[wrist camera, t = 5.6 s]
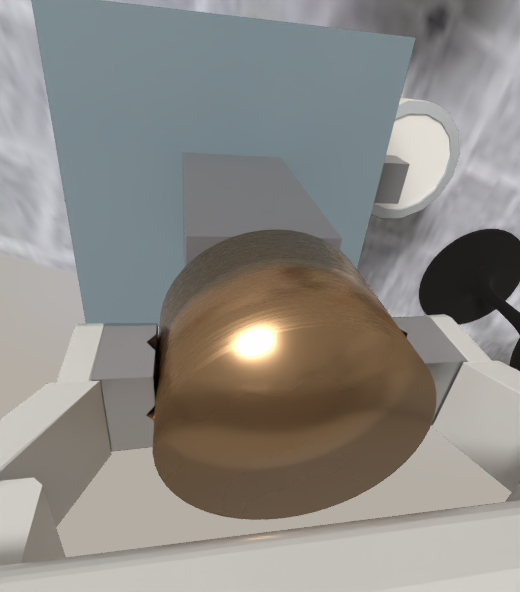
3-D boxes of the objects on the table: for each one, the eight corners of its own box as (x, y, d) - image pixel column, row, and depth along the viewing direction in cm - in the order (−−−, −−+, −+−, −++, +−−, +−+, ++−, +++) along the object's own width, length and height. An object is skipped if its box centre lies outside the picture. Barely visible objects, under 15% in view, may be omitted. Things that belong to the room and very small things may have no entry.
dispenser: (353, 35, 26) (701, 62, 9) (320, 214, 32) (483, 433, 15) (102, 6, 23) (-113, -38, 6) (121, 209, 30) (44, 471, 12)
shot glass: (360, 200, 32) (400, 239, 27) (295, 149, 29) (324, 180, 24) (425, 124, 30) (484, 149, 24) (361, 60, 27) (411, 71, 21)
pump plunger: (299, 143, 15) (480, 322, 6) (282, 259, 18) (392, 504, 9) (164, 135, 14) (143, 331, 5) (168, 258, 17) (158, 532, 8)
